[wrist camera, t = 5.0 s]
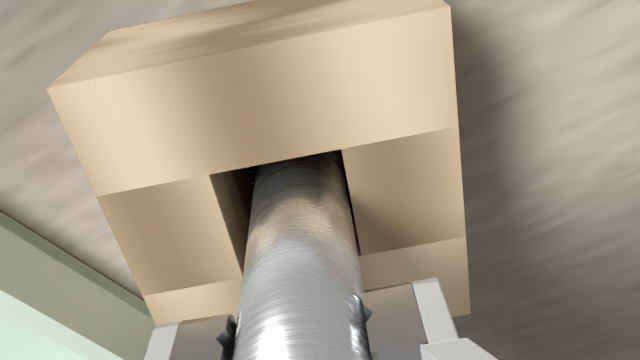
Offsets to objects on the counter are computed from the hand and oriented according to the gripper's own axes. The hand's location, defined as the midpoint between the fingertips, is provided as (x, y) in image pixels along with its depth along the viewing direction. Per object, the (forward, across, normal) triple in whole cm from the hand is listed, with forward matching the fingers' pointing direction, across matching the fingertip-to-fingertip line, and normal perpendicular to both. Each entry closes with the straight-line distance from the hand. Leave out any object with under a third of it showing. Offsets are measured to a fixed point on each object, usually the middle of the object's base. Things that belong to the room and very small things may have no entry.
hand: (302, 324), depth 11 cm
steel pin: (+7, 0, 0) cm, 7 cm away
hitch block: (+9, 0, 0) cm, 9 cm away
